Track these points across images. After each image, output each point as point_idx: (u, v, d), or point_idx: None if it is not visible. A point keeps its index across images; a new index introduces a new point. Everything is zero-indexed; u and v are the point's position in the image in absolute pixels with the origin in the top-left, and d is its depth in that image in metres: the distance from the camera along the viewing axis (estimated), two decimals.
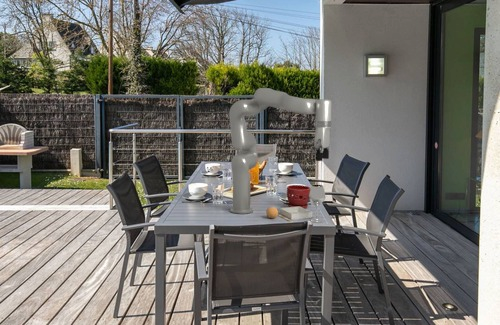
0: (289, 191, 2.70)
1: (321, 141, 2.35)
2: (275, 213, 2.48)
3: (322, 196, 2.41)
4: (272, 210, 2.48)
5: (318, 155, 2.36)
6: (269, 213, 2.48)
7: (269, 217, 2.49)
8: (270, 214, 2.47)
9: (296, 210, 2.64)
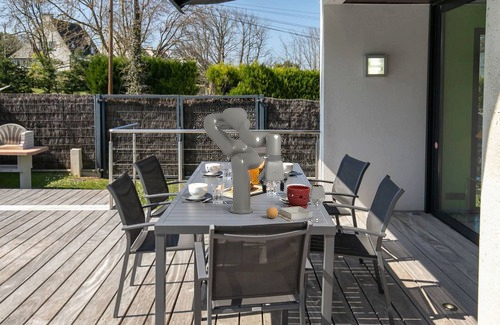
0: (289, 191, 2.70)
1: None
2: (275, 213, 2.48)
3: (322, 196, 2.41)
4: (272, 210, 2.48)
5: None
6: (269, 213, 2.48)
7: (269, 217, 2.49)
8: (270, 214, 2.47)
9: (296, 210, 2.64)
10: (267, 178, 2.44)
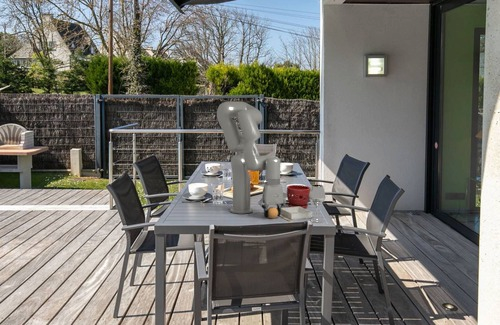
0: (289, 191, 2.70)
1: None
2: (275, 213, 2.48)
3: (322, 196, 2.41)
4: (272, 210, 2.48)
5: None
6: (269, 213, 2.48)
7: (269, 217, 2.49)
8: (270, 214, 2.47)
9: (296, 210, 2.64)
10: (266, 202, 2.45)
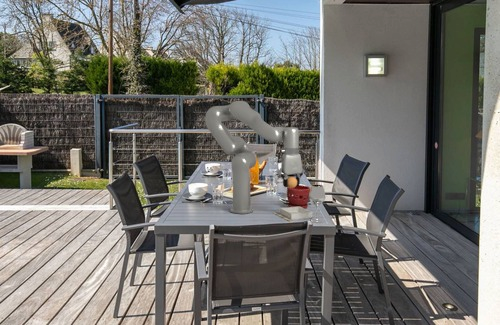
0: (289, 191, 2.70)
1: None
2: (294, 182, 2.50)
3: (322, 196, 2.41)
4: (291, 179, 2.50)
5: None
6: (288, 182, 2.50)
7: None
8: (290, 183, 2.50)
9: (296, 210, 2.64)
10: (285, 171, 2.48)
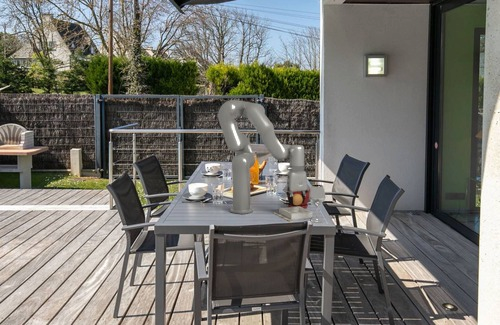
0: None
1: None
2: (300, 199, 2.53)
3: (322, 196, 2.41)
4: (297, 197, 2.53)
5: None
6: (294, 200, 2.53)
7: (294, 204, 2.54)
8: (295, 200, 2.53)
9: (296, 210, 2.64)
10: (291, 188, 2.51)
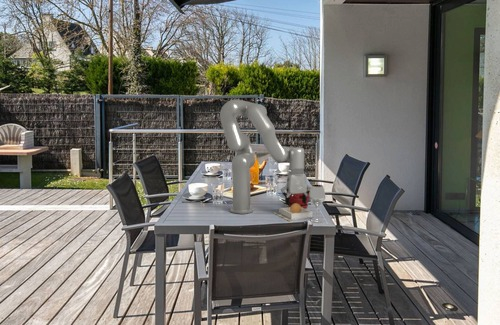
0: None
1: None
2: (299, 209, 2.54)
3: (322, 196, 2.41)
4: (296, 206, 2.54)
5: None
6: (293, 209, 2.54)
7: None
8: (294, 210, 2.54)
9: None
10: (290, 191, 2.51)
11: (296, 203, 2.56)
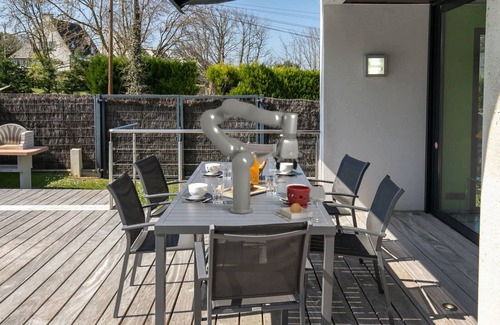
0: (289, 191, 2.70)
1: None
2: (299, 209, 2.54)
3: (322, 196, 2.41)
4: (296, 206, 2.54)
5: None
6: (293, 209, 2.54)
7: None
8: (294, 210, 2.54)
9: None
10: (281, 155, 2.51)
11: (296, 203, 2.56)
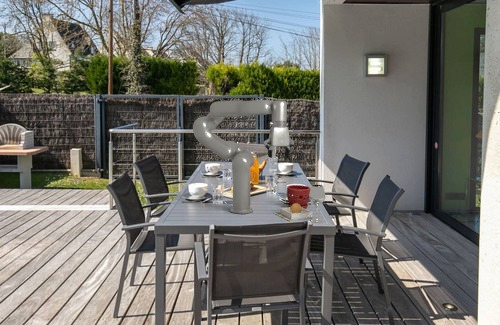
0: (289, 191, 2.70)
1: None
2: (299, 210, 2.54)
3: (322, 196, 2.41)
4: (296, 206, 2.54)
5: None
6: (293, 209, 2.54)
7: None
8: (294, 210, 2.54)
9: None
10: (273, 143, 2.52)
11: (296, 203, 2.56)
